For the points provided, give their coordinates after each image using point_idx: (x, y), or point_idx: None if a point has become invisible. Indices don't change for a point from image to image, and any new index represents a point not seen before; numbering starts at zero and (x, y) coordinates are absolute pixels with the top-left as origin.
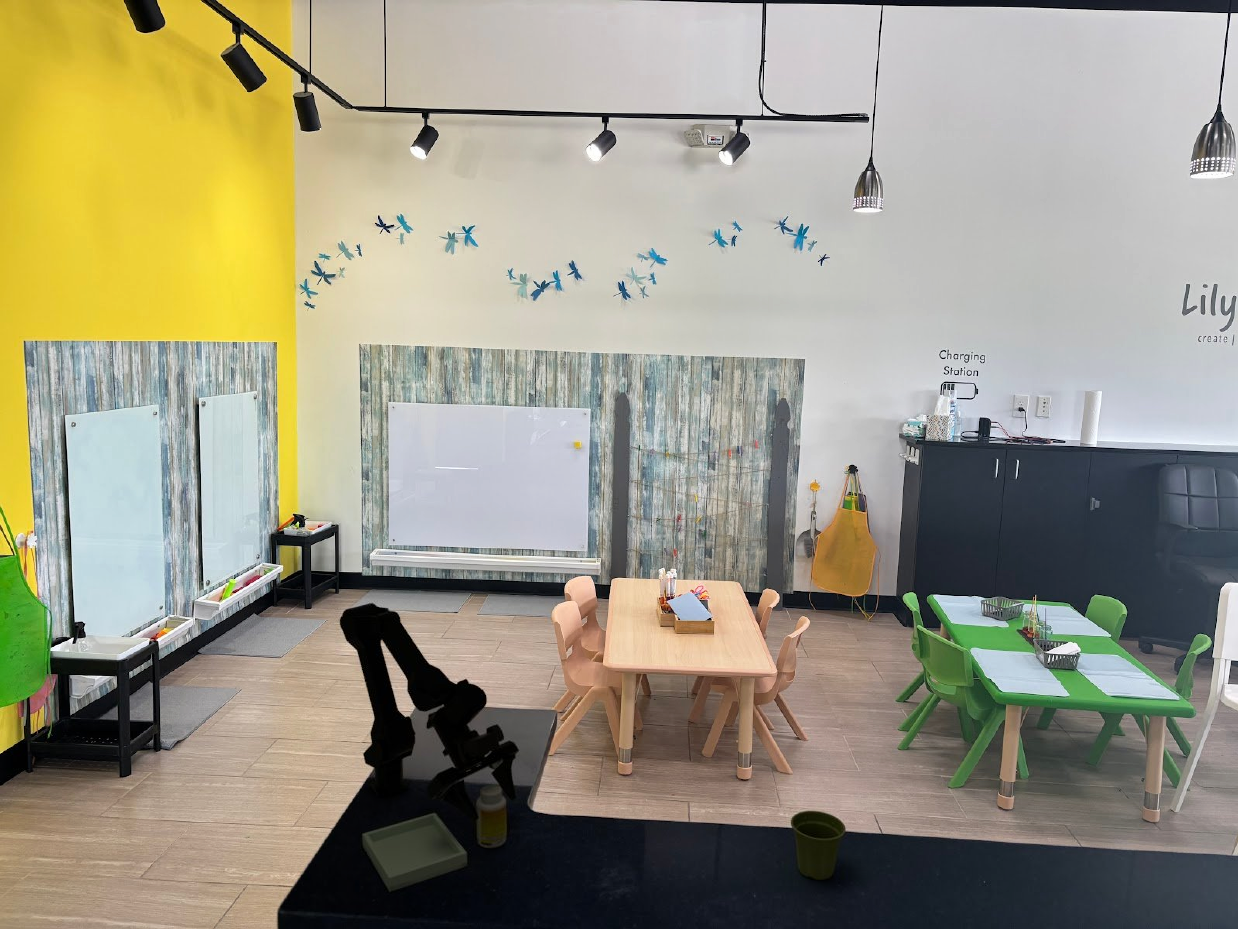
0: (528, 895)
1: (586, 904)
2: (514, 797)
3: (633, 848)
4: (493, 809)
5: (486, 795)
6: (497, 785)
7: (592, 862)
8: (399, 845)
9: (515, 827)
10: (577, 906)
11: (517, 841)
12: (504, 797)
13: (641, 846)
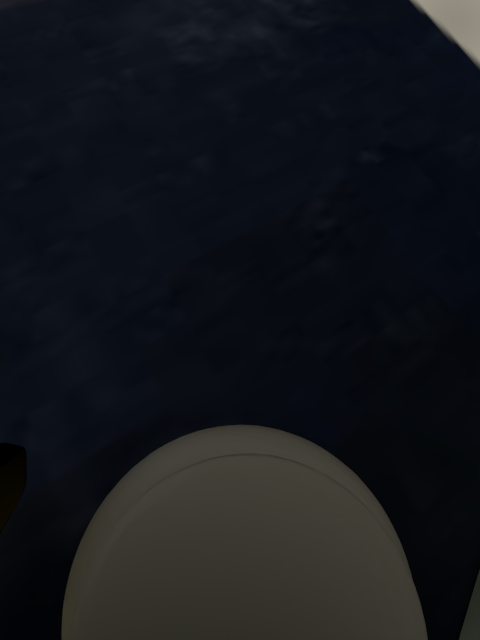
0: (457, 181)
1: (374, 35)
2: (14, 448)
3: (27, 29)
4: (351, 472)
5: (415, 601)
6: (73, 636)
7: (167, 96)
8: None
9: (39, 521)
10: (398, 49)
11: (165, 423)
12: (115, 495)
13: (6, 16)
